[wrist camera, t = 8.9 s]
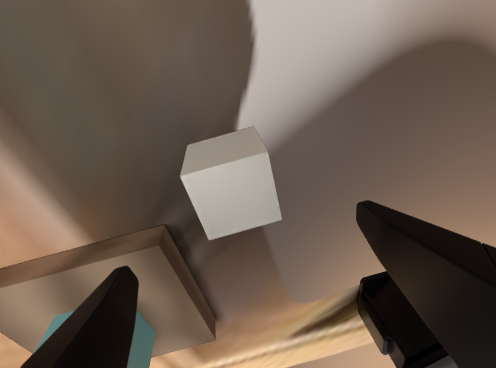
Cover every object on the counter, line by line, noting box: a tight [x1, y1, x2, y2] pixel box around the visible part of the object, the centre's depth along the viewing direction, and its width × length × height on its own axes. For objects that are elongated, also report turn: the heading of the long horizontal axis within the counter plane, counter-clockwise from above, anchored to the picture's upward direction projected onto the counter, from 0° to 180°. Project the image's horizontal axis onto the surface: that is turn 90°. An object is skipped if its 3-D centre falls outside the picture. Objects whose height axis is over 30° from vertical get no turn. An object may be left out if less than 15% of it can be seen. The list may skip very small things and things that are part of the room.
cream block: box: [180, 126, 282, 240], centre depth 13 cm, size 4×4×4 cm
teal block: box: [34, 310, 156, 368], centre depth 15 cm, size 5×5×5 cm
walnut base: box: [0, 225, 216, 358], centre depth 18 cm, size 13×12×2 cm
